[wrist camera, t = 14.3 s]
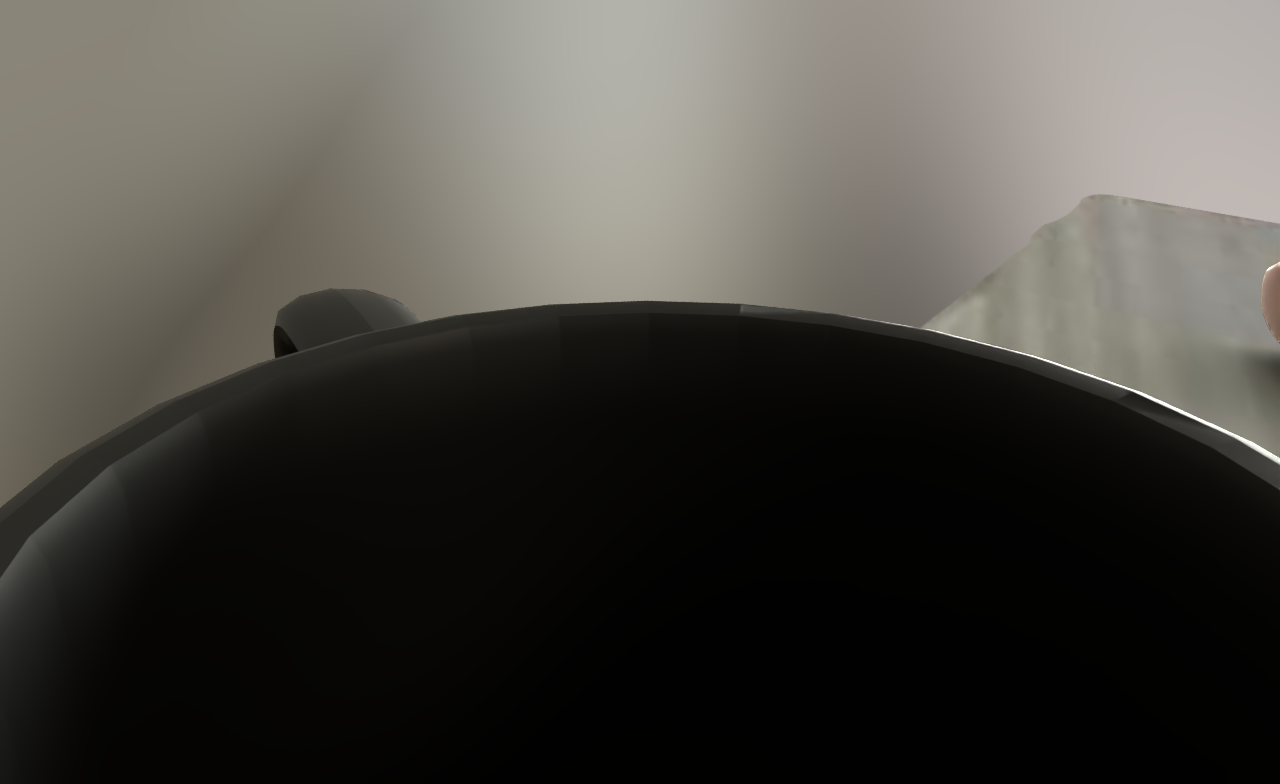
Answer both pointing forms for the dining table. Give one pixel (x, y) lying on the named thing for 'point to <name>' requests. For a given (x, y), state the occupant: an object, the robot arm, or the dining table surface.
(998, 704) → the mug
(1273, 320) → the mortar and pestle
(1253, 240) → the dining table surface
